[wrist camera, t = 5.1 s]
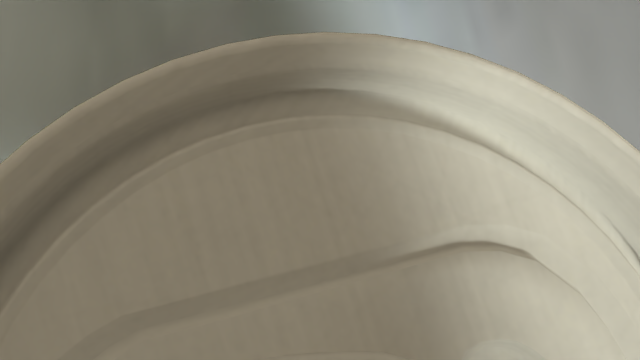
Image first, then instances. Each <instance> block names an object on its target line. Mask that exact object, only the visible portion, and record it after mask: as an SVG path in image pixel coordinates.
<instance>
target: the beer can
mask: <svg viewBox="0 0 640 360" xmlns="http://www.w3.org/2000/svg"><path fill="white" fill-rule="evenodd" d="M0 360H640V151H639V150H637V149H636V148H635V147H634V146H632V145H631V144H630V143H629V142H627V141H626V140H625V139H624V138H623V137H621V136H620V135H619V134H618V133H616V132H615V131H614V130H613V129H612V128H610V127H609V126H608V125H607V124H605V123H604V122H603V121H601V120H600V119H598V118H597V117H595V116H594V115H592V114H591V113H589V112H588V111H586V110H584V109H583V108H581V107H580V106H578V105H577V104H575V103H574V102H572V101H571V100H569V99H568V98H566V97H565V96H563V95H561V94H560V93H558V92H556V91H554V90H552V89H550V88H548V87H546V86H544V85H542V84H540V83H538V82H536V81H534V80H532V79H530V78H528V77H527V76H525V75H523V74H521V73H519V72H516V71H514V70H511V69H509V68H506V67H503V66H501V65H498V64H496V63H493V62H490V61H488V60H485V59H483V58H480V57H478V56H475V55H472V54H469V53H465V52H461V51H457V50H454V49H450V48H446V47H442V46H439V45H435V44H431V43H428V42H423V41H417V40H410V39H404V38H397V37H391V36H384V35H378V34H359V33H336V32H319V33H304V34H289V35H275V36H269V37H263V38H258V39H252V40H247V41H241V42H236V43H230V44H224V45H221V46H217V47H214V48H211V49H207V50H204V51H200V52H197V53H194V54H190V55H187V56H183V57H180V58H177V59H173V60H171V61H168V62H166V63H164V64H161V65H159V66H156V67H154V68H152V69H149V70H147V71H145V72H142V73H140V74H137V75H135V76H133V77H130V78H128V79H125V80H123V81H121V82H119V83H118V84H116V85H114V86H112V87H110V88H109V89H107V90H105V91H103V92H101V93H99V94H98V95H96V96H94V97H92V98H90V99H89V100H87V101H85V102H83V103H81V104H80V105H78V106H76V107H74V108H73V109H71V110H70V111H68V112H67V113H66V114H64V115H63V116H61V117H60V118H58V119H57V120H56V121H54V122H53V123H51V124H50V125H49V126H47V127H46V128H44V129H43V130H41V131H40V132H39V133H37V134H36V135H34V136H33V137H31V138H30V139H29V140H27V141H26V142H25V143H24V144H23V145H21V146H20V147H19V148H18V149H17V150H16V151H15V152H13V153H12V154H11V155H10V156H9V157H8V158H7V159H5V160H4V161H3V162H2V163H1V164H0Z"/></svg>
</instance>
